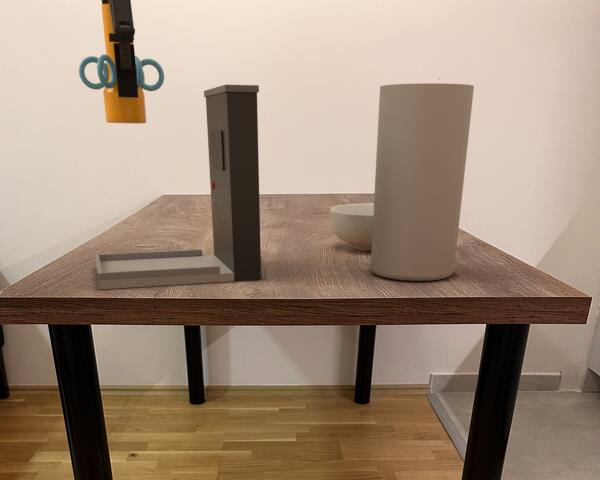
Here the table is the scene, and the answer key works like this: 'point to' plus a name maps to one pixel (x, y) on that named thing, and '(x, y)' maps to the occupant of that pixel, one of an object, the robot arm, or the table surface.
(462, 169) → the cylinder vase
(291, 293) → the table surface
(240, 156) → the grey l-shaped stand
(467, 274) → the table surface
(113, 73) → the cylinder
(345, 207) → the cereal bowl
